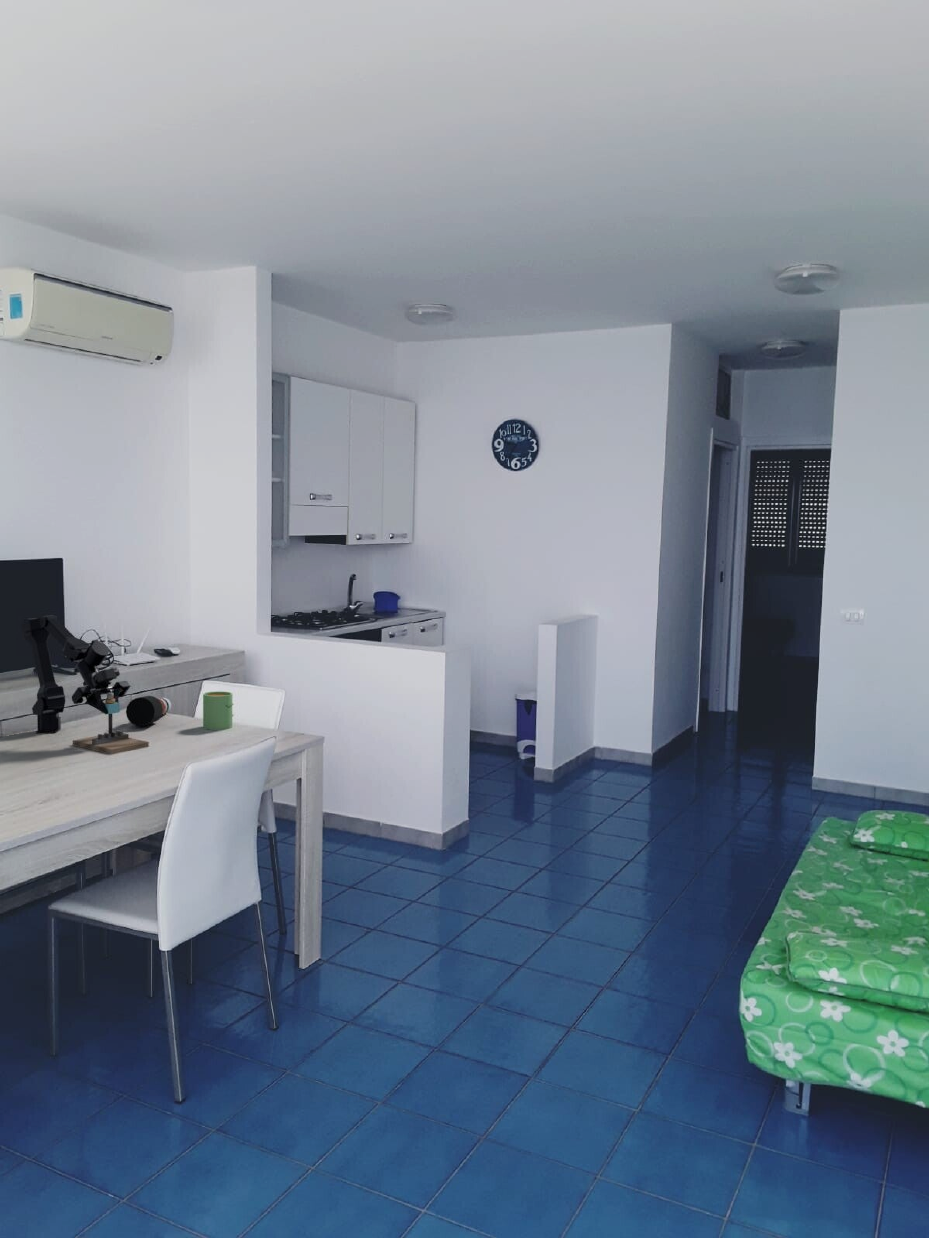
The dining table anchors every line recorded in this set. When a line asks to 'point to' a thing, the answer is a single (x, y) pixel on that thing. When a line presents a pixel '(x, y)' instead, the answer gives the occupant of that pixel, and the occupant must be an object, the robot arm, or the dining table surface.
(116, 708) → the sleeve
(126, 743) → the wooden base post stand
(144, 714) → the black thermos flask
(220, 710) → the mug
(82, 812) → the dining table surface
